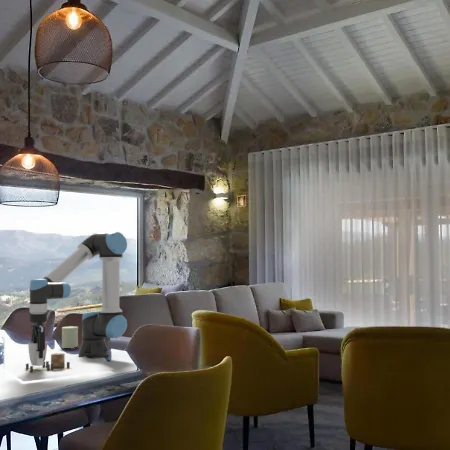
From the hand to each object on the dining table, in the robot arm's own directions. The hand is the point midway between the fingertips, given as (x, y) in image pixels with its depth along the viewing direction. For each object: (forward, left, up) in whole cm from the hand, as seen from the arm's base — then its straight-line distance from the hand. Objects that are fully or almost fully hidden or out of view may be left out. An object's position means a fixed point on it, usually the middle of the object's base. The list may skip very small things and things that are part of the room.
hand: (37, 364), depth 252 cm
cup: (0, 0, 0) cm, 0 cm away
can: (-35, -62, -4) cm, 71 cm away
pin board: (-5, 0, -4) cm, 6 cm away
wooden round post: (-9, 0, -3) cm, 9 cm away
